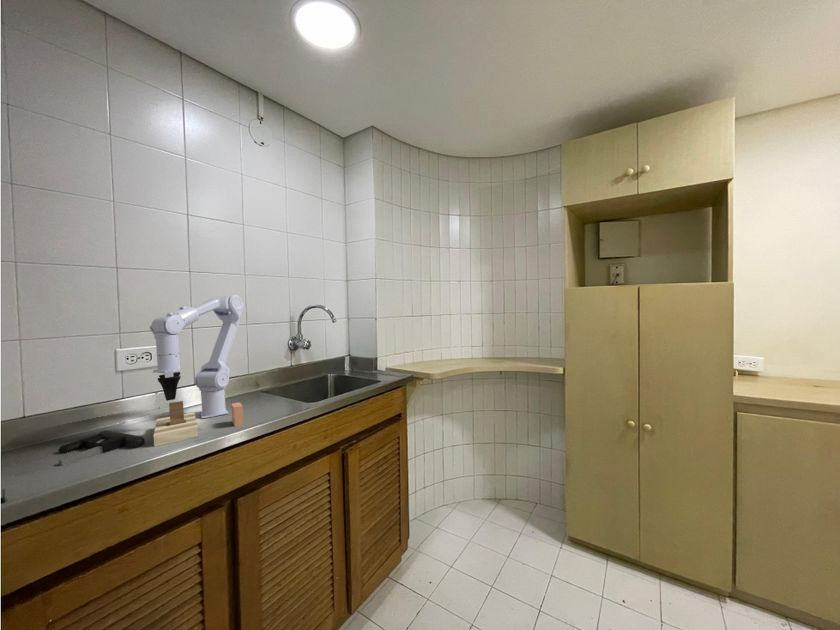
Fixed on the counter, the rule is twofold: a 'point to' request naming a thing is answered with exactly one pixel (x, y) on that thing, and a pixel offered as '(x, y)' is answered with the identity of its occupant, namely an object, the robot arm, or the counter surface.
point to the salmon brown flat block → (237, 414)
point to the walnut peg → (176, 413)
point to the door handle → (99, 445)
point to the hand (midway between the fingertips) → (170, 397)
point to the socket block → (175, 430)
